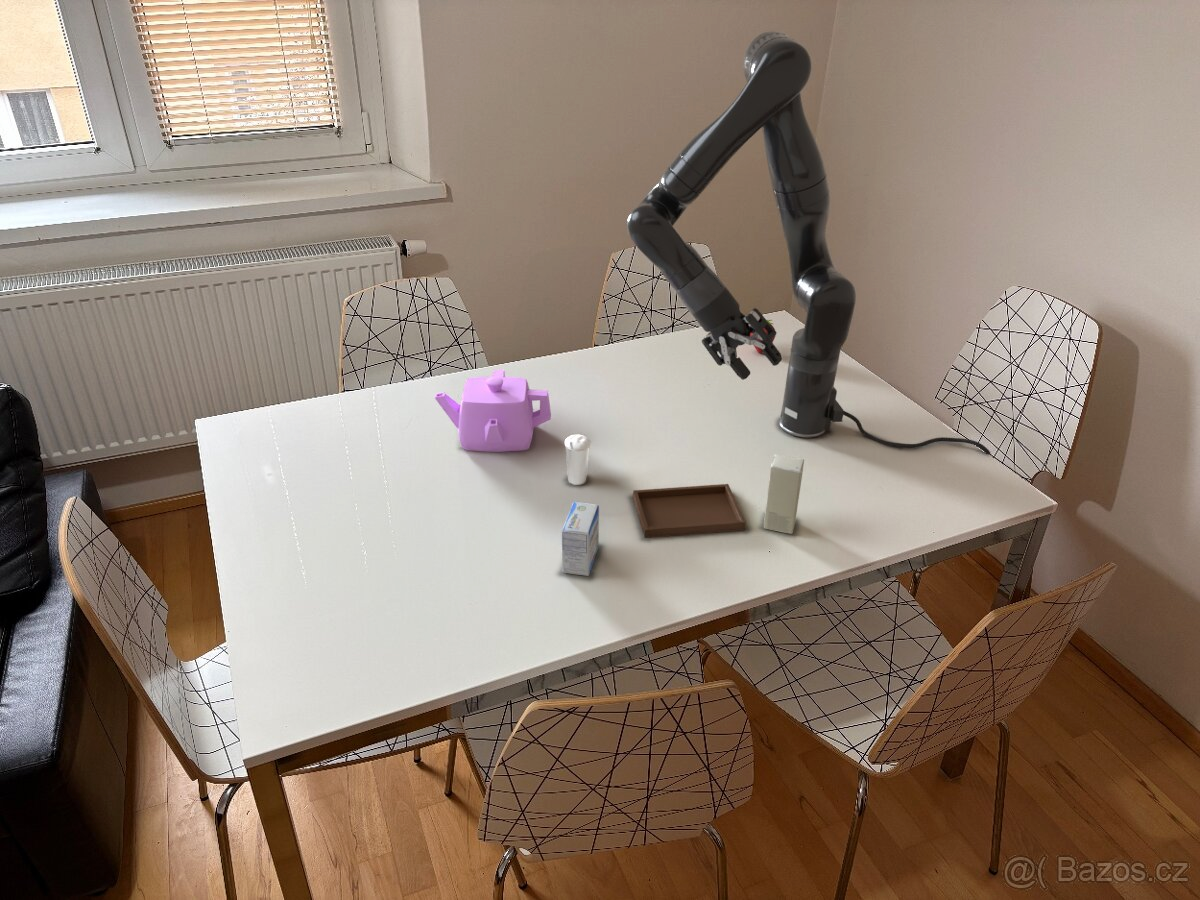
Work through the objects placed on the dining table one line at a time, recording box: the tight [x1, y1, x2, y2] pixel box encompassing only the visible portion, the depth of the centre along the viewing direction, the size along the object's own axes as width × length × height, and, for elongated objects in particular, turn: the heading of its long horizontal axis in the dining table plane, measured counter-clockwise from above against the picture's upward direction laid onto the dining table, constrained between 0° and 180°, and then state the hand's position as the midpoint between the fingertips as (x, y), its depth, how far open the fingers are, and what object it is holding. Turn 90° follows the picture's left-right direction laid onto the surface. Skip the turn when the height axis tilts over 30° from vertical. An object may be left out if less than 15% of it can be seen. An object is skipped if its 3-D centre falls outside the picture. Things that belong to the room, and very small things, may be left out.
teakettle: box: [434, 369, 552, 453], centre depth 169 cm, size 17×17×12 cm
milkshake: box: [564, 434, 591, 486], centre depth 157 cm, size 4×5×10 cm
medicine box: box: [560, 501, 600, 577], centre depth 139 cm, size 8×4×9 cm, turn 168°
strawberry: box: [751, 319, 777, 355], centre depth 203 cm, size 6×8×10 cm
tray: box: [632, 483, 747, 539], centre depth 152 cm, size 17×11×2 cm, turn 98°
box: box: [763, 453, 805, 535], centre depth 147 cm, size 5×4×13 cm
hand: (762, 369), depth 157 cm, fingers open, 8 cm apart
